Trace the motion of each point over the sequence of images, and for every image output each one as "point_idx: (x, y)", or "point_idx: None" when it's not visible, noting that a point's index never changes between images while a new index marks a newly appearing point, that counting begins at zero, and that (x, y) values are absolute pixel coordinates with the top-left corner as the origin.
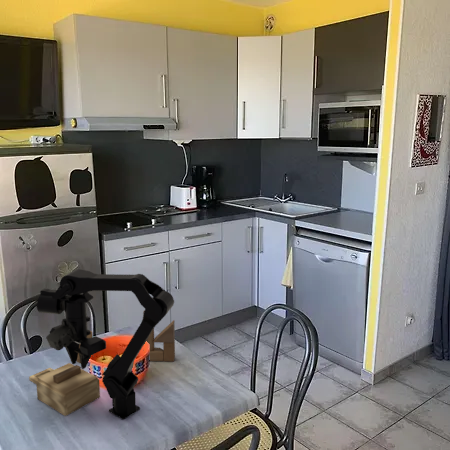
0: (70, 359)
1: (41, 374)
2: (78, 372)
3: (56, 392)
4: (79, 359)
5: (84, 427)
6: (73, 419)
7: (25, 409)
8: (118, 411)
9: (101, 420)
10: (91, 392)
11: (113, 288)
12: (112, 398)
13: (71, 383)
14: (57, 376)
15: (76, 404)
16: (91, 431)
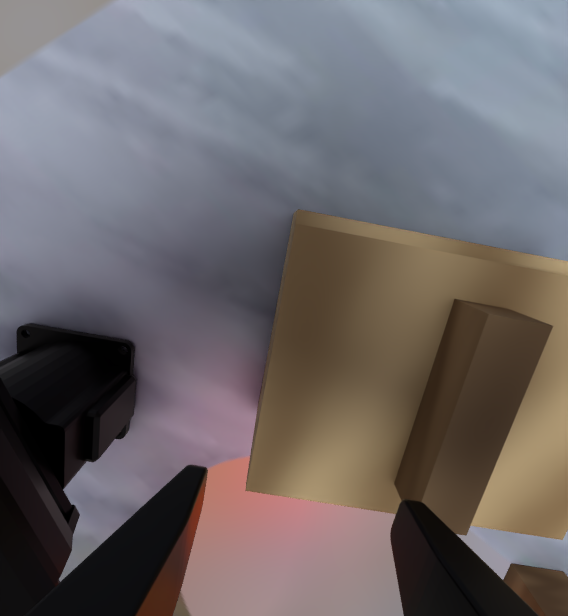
0: (480, 561)
1: None
2: (404, 475)
3: (397, 228)
4: (558, 589)
5: (136, 188)
6: (237, 213)
7: (540, 156)
8: (51, 345)
9: (111, 273)
10: (261, 392)
11: None
12: (108, 396)
13: (358, 353)
14: (502, 332)
15: (280, 288)
16: (81, 179)
